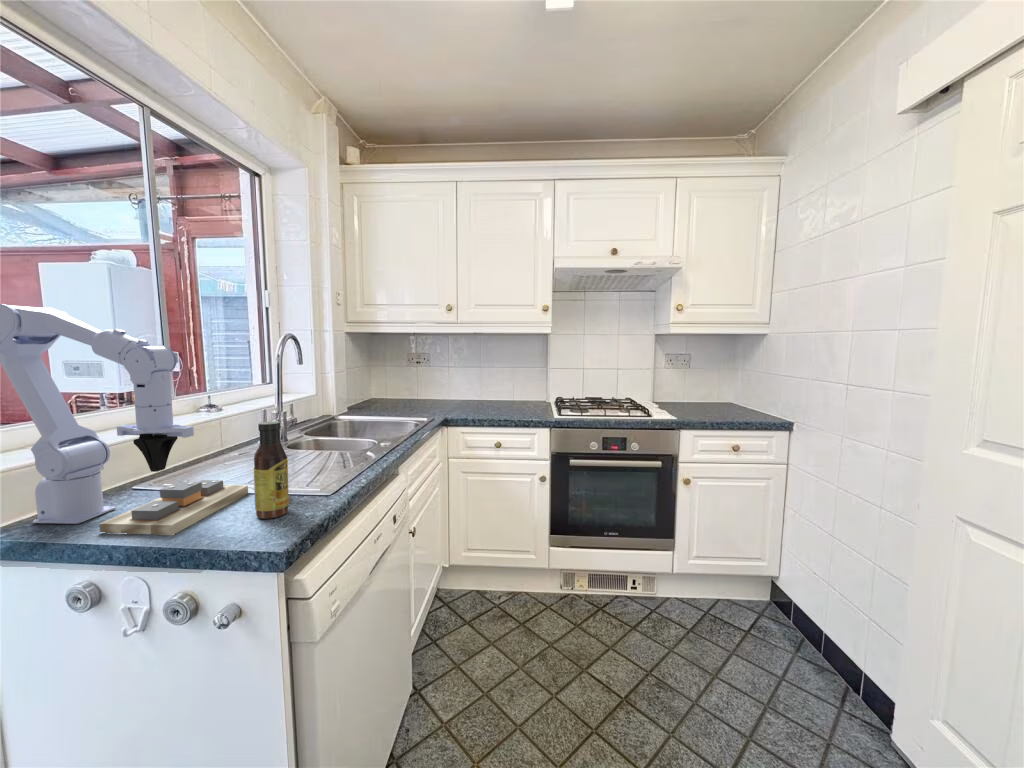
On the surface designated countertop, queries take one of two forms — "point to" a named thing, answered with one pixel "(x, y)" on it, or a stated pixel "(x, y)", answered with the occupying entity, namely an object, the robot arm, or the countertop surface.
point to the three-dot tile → (211, 487)
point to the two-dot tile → (182, 492)
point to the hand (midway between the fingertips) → (158, 470)
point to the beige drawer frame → (175, 514)
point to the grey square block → (154, 511)
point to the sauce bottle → (270, 473)
